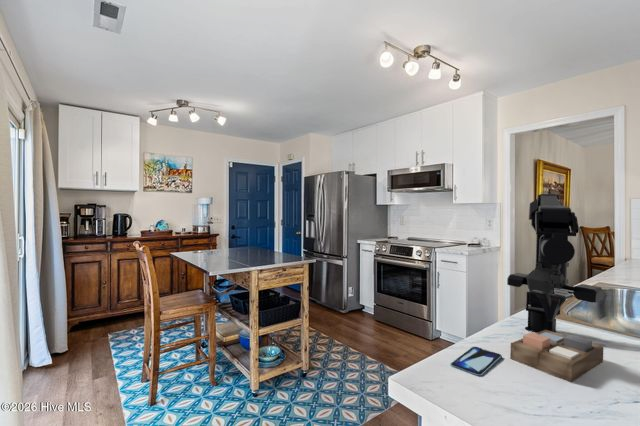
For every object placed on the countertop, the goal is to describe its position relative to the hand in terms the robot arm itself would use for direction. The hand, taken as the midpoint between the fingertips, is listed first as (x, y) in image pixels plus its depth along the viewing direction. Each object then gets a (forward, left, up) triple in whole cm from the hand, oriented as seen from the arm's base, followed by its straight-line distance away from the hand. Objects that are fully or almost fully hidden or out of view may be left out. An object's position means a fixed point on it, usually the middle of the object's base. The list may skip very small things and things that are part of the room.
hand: (550, 320), depth 80 cm
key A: (+3, 0, -9) cm, 10 cm away
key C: (-3, +8, -9) cm, 13 cm away
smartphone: (-10, -15, -11) cm, 21 cm away
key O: (+3, +8, -8) cm, 12 cm away
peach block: (-3, 0, -8) cm, 9 cm away
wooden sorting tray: (0, +4, -11) cm, 11 cm away
